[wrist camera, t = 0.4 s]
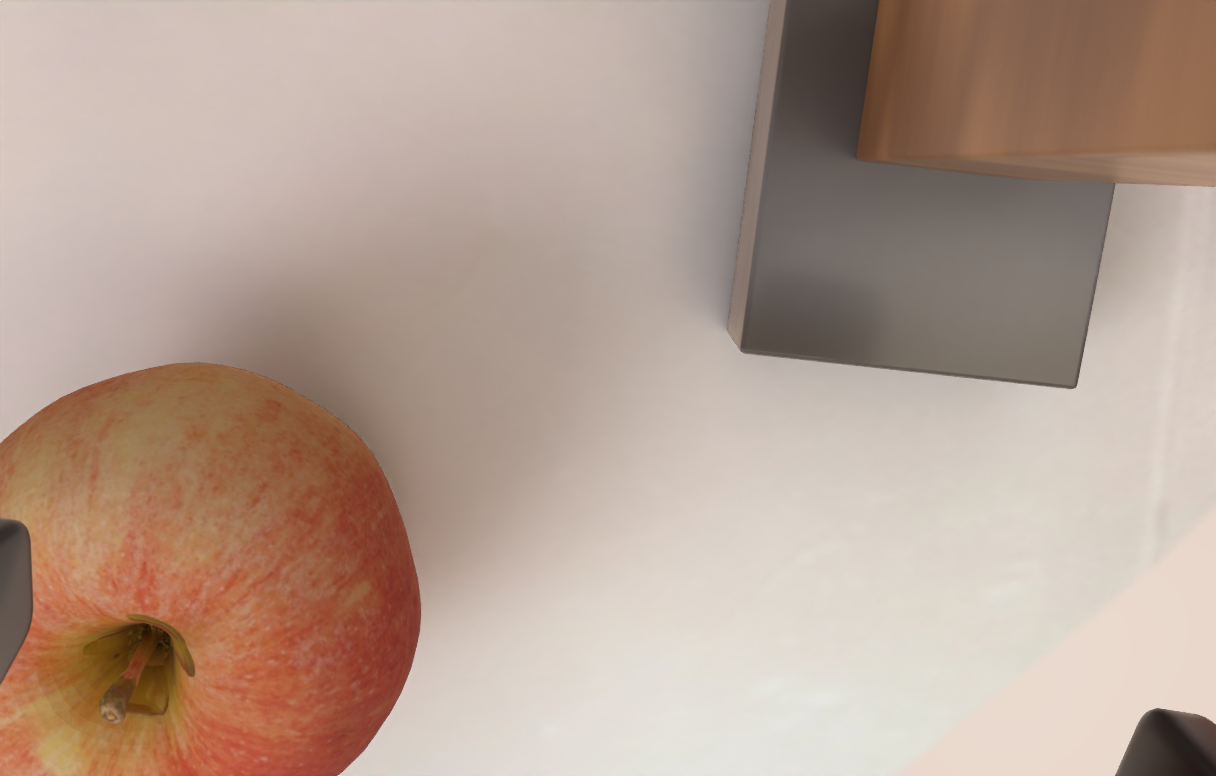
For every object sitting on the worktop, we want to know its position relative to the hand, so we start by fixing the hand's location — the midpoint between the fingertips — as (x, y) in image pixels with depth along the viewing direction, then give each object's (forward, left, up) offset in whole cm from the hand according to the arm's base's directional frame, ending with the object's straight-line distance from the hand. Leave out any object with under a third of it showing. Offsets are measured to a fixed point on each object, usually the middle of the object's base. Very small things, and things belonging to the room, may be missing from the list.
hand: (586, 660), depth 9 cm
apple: (-4, +7, -14) cm, 16 cm away
